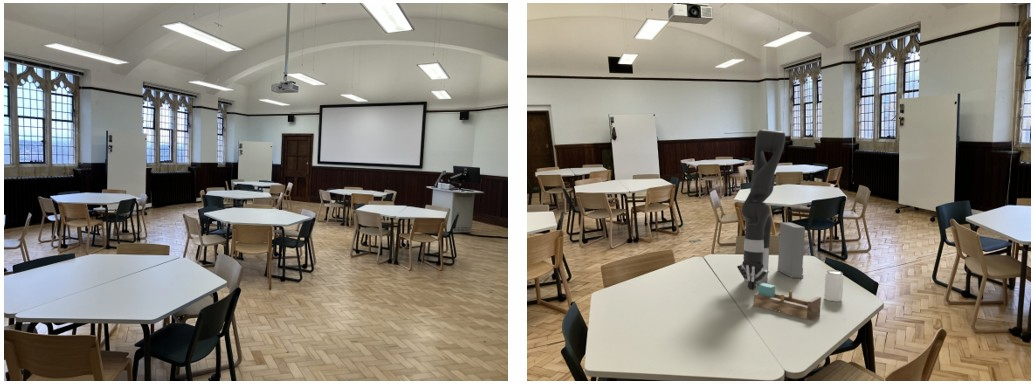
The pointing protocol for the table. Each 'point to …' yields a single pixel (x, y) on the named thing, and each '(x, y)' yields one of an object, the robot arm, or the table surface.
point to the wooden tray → (790, 305)
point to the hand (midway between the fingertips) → (751, 289)
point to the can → (833, 286)
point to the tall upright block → (791, 249)
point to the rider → (766, 290)
